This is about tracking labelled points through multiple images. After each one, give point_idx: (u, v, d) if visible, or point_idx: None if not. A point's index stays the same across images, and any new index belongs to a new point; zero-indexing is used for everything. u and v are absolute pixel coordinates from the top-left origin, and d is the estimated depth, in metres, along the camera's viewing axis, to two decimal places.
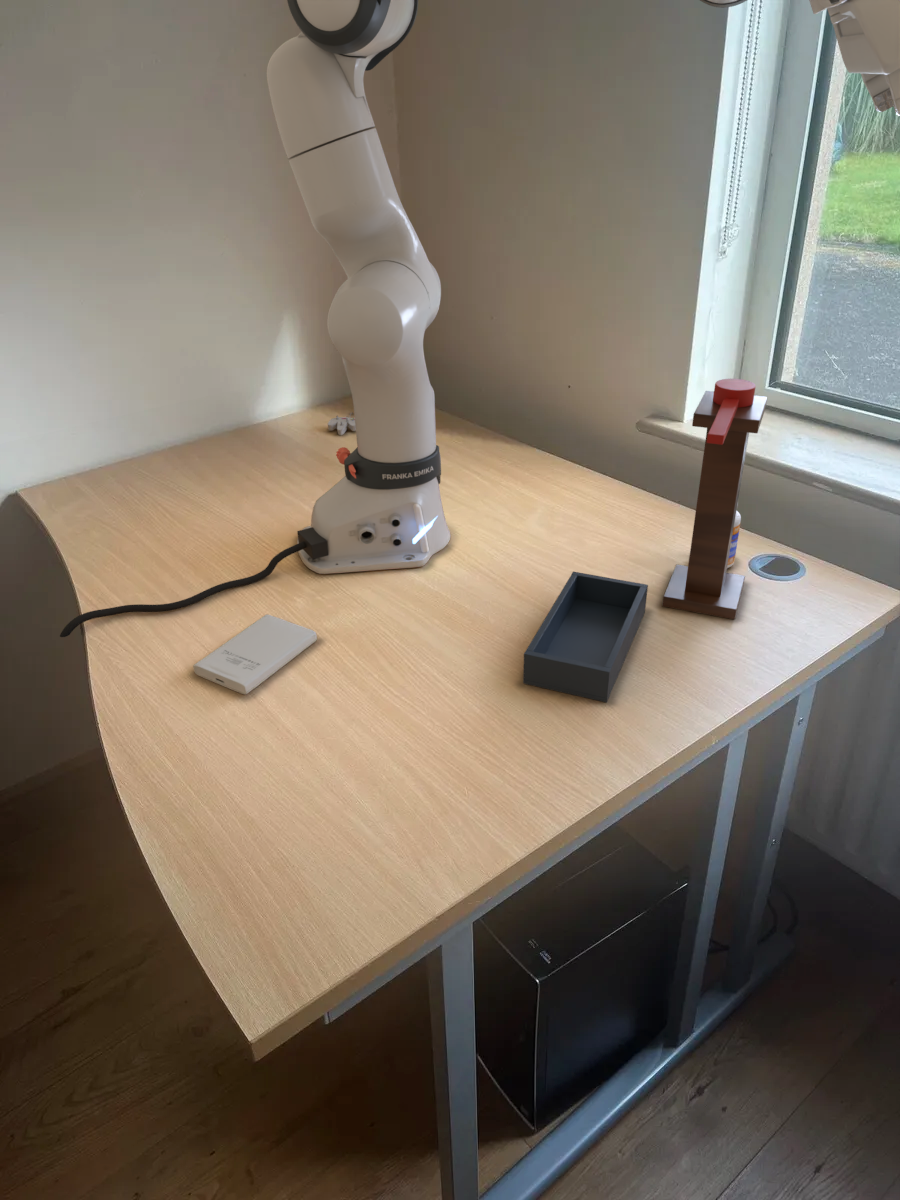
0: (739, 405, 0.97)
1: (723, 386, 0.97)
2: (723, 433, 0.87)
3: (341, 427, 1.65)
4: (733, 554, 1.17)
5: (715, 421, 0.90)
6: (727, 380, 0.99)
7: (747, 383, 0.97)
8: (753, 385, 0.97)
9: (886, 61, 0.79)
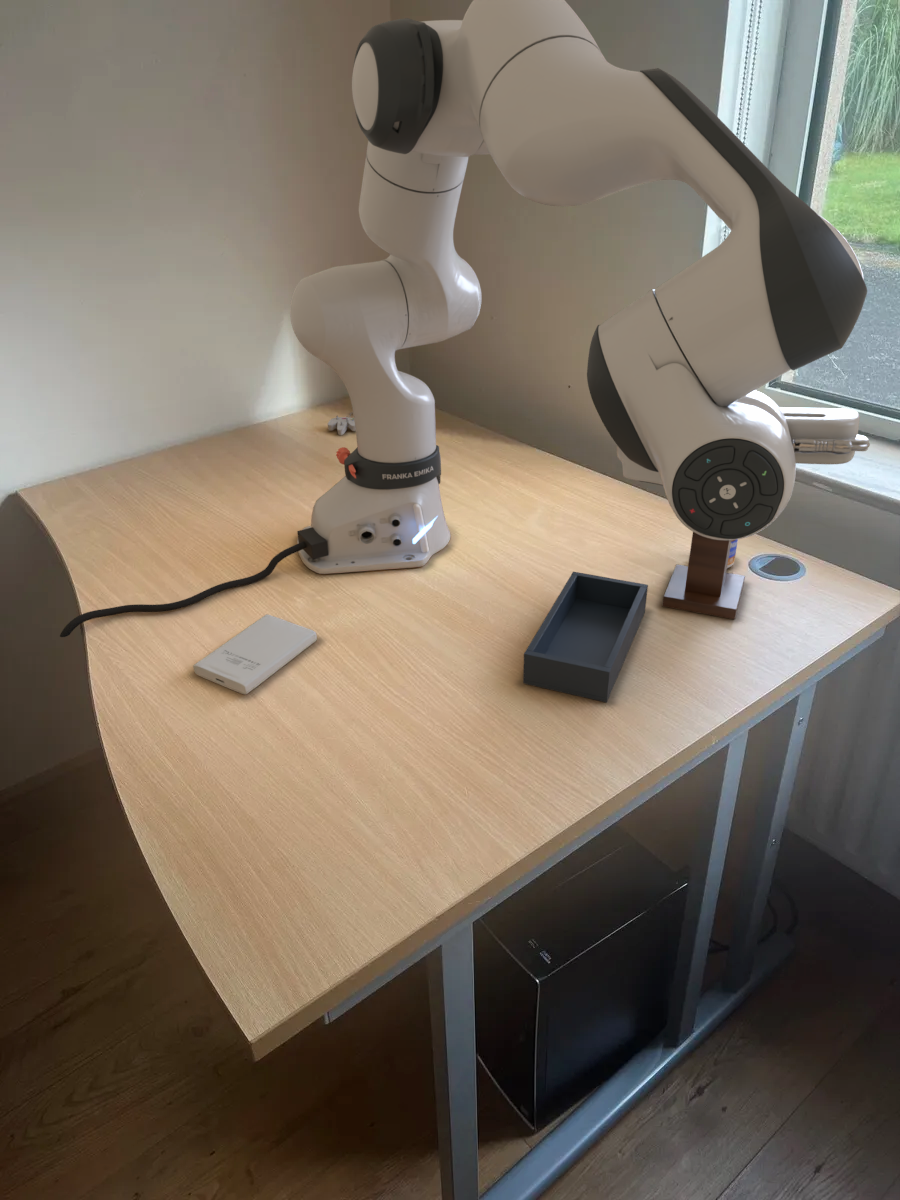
0: None
1: None
2: None
3: (341, 427, 1.65)
4: (733, 554, 1.17)
5: None
6: None
7: None
8: None
9: None
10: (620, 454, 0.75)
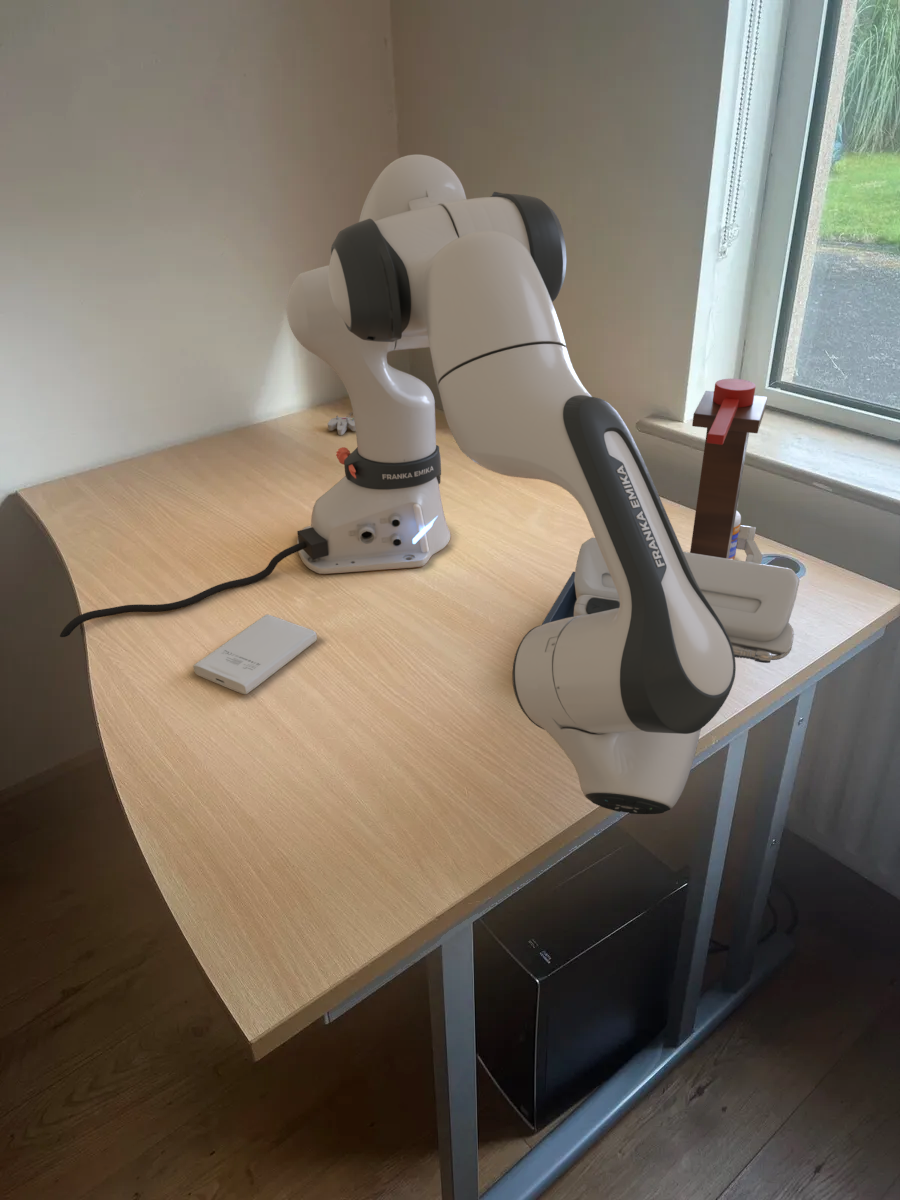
0: (739, 405, 0.97)
1: (723, 386, 0.97)
2: (723, 433, 0.87)
3: (341, 427, 1.65)
4: (733, 554, 1.17)
5: (715, 421, 0.90)
6: (727, 380, 0.99)
7: (747, 383, 0.97)
8: (753, 385, 0.97)
9: (581, 545, 0.84)
10: None
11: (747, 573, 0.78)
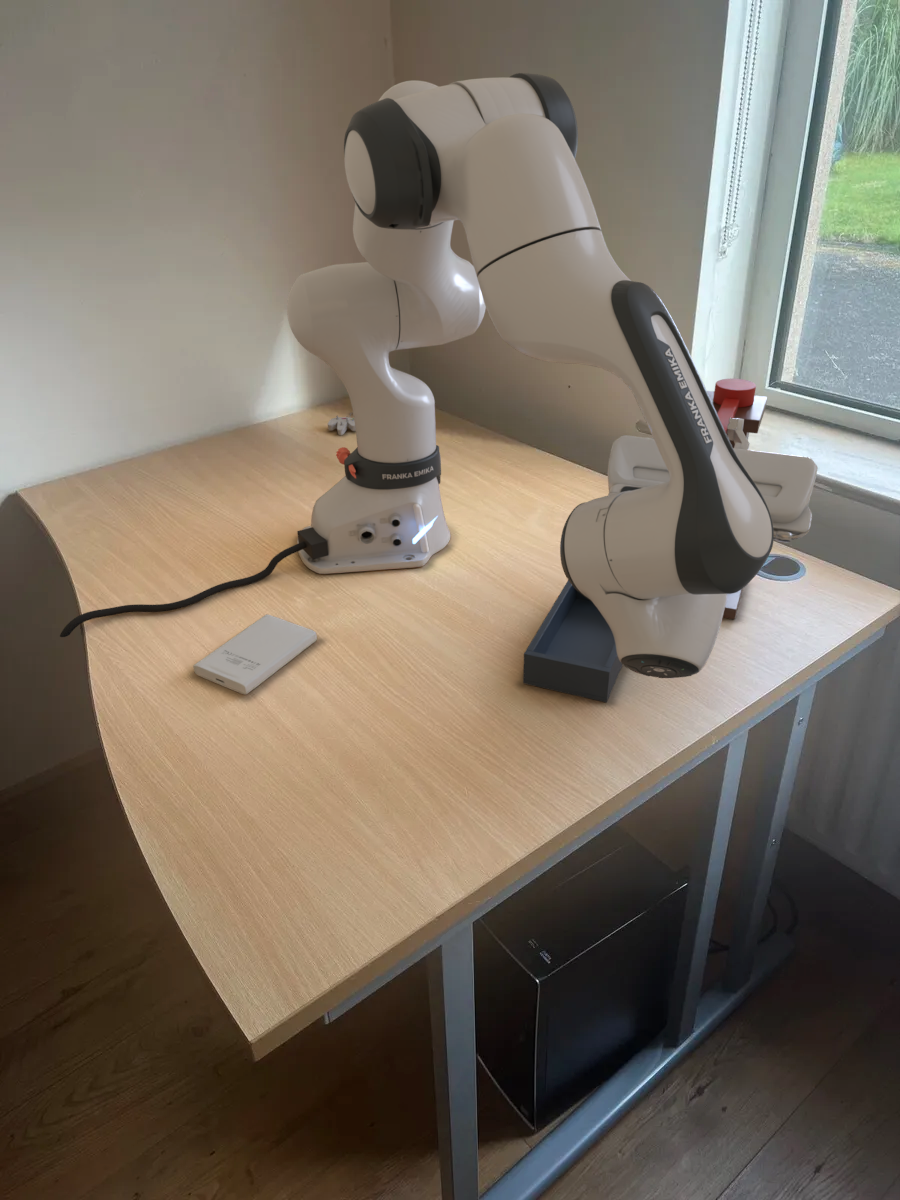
0: (739, 405, 0.97)
1: (724, 386, 0.97)
2: None
3: (341, 427, 1.65)
4: None
5: None
6: (727, 380, 0.99)
7: (747, 383, 0.97)
8: (753, 385, 0.97)
9: (613, 442, 0.90)
10: None
11: (769, 462, 0.84)
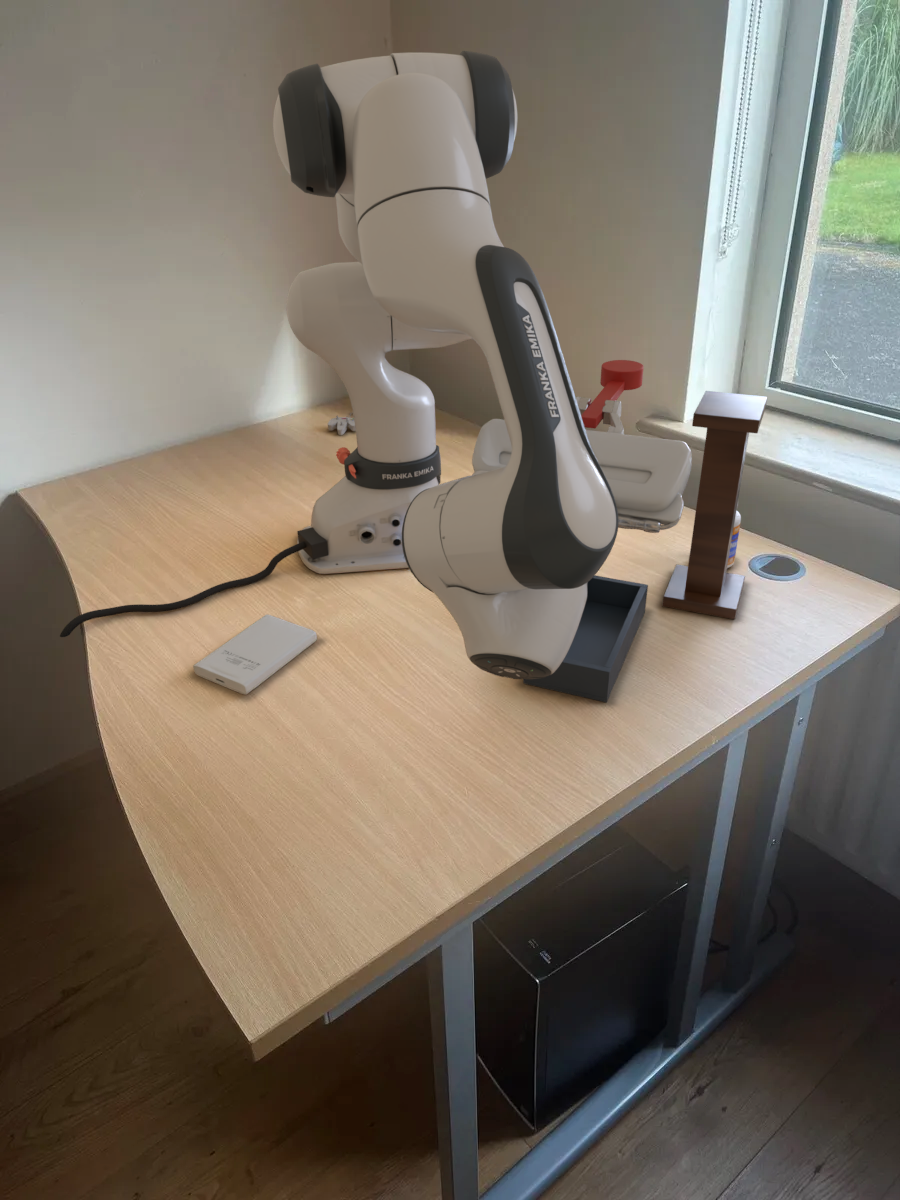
0: (625, 388, 0.90)
1: (609, 367, 0.91)
2: (596, 416, 0.81)
3: (341, 427, 1.65)
4: (733, 554, 1.17)
5: (592, 404, 0.84)
6: (615, 361, 0.93)
7: (635, 365, 0.91)
8: (641, 366, 0.91)
9: None
10: None
11: (640, 446, 0.78)
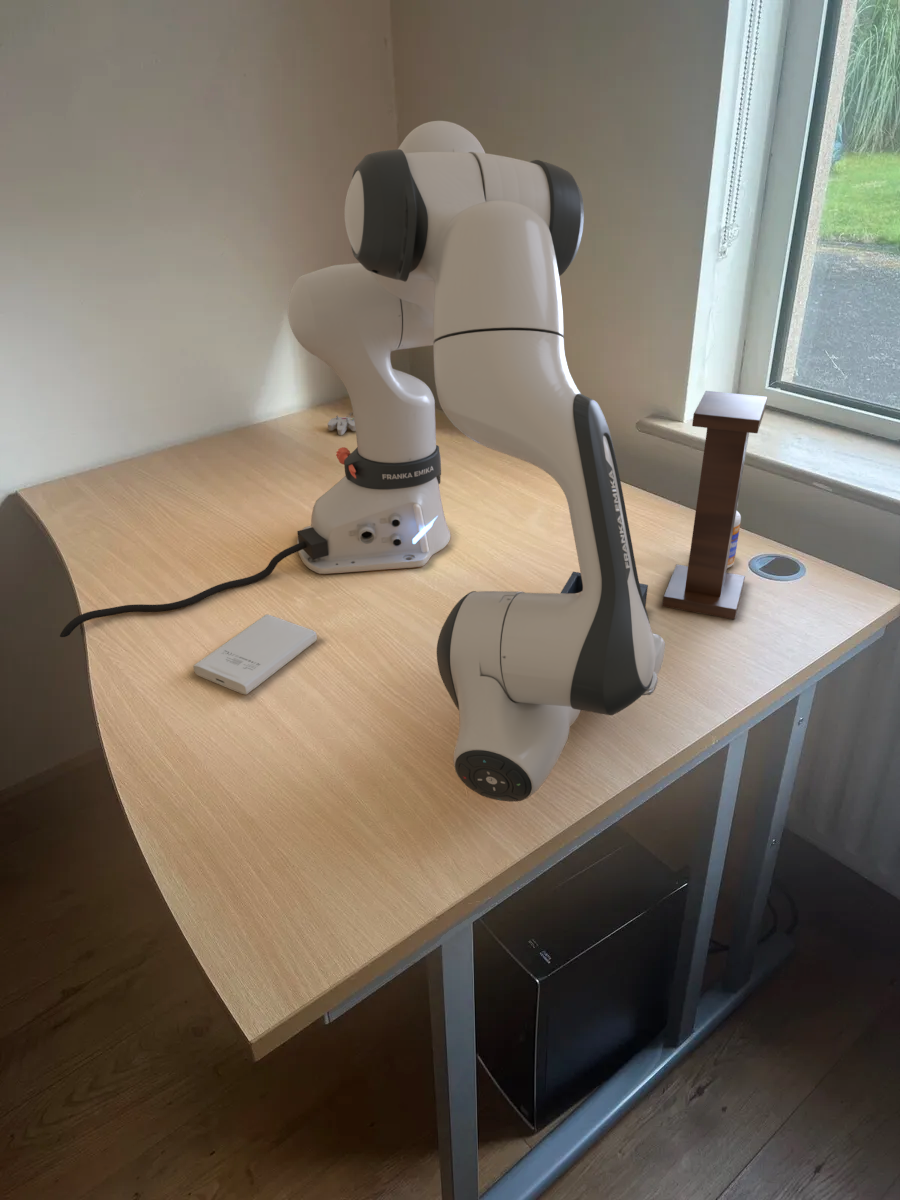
0: None
1: None
2: None
3: (341, 427, 1.65)
4: (733, 554, 1.17)
5: None
6: None
7: None
8: None
9: None
10: None
11: None
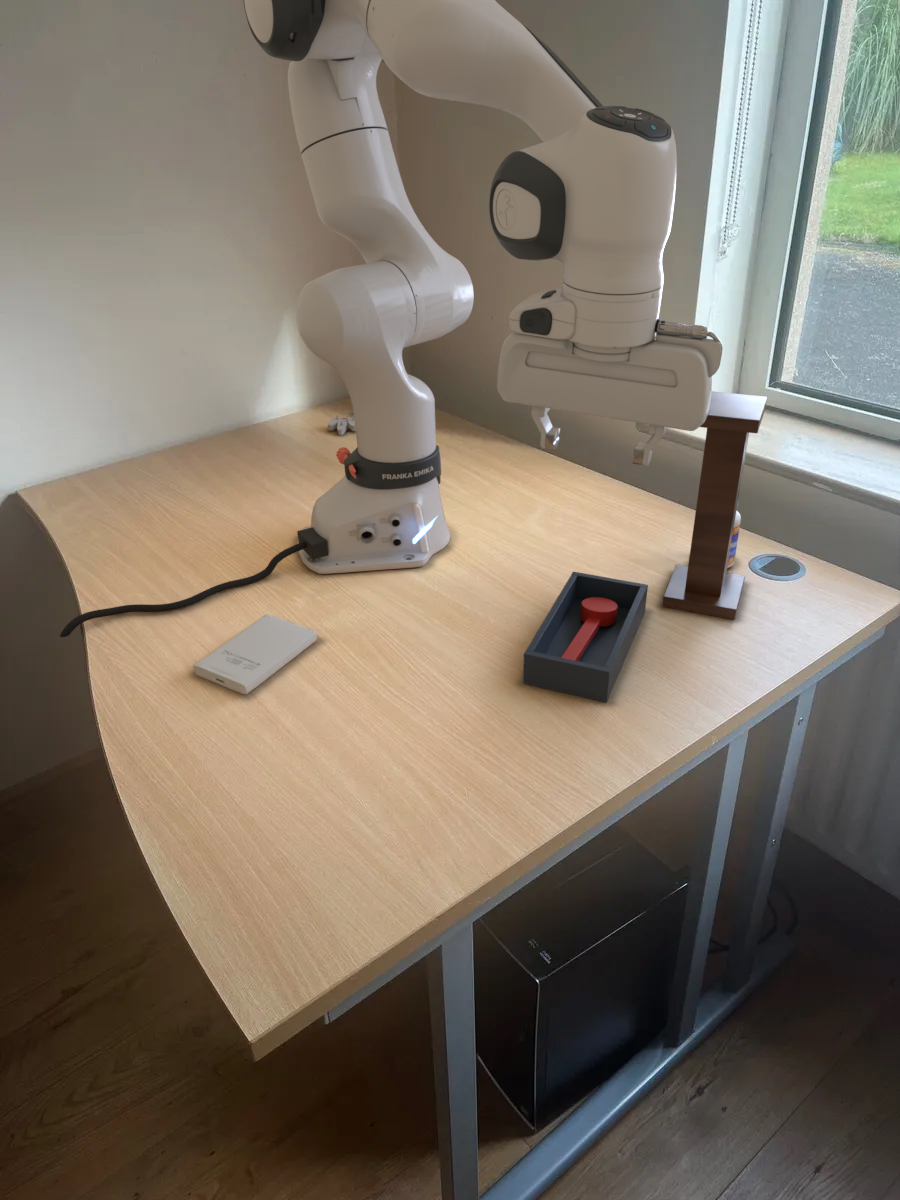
0: (601, 624, 1.04)
1: (588, 605, 1.05)
2: (573, 659, 0.95)
3: (341, 427, 1.65)
4: (733, 554, 1.17)
5: (571, 644, 0.98)
6: (593, 599, 1.07)
7: (610, 604, 1.06)
8: (615, 606, 1.05)
9: None
10: (506, 338, 0.81)
11: None
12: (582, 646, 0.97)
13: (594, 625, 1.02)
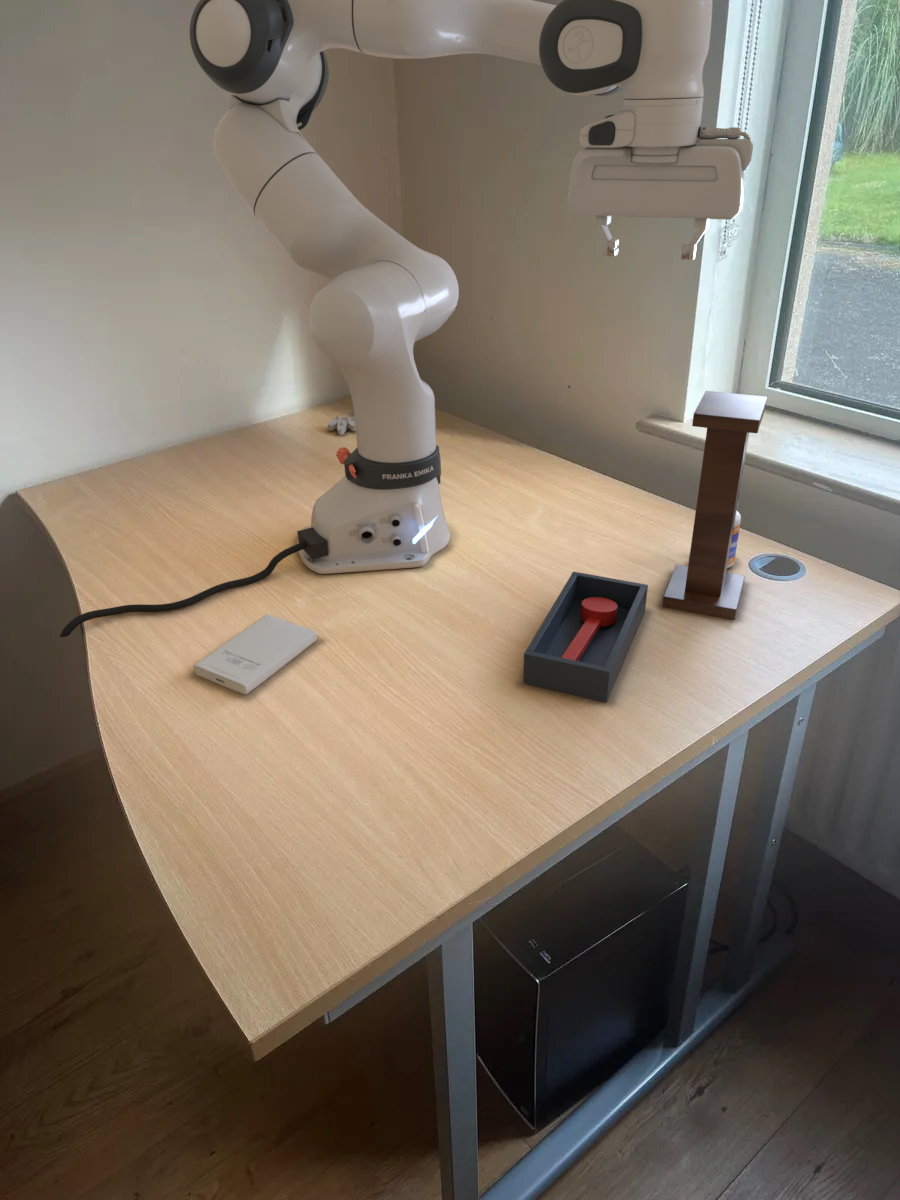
0: (601, 624, 1.04)
1: (588, 605, 1.05)
2: (573, 659, 0.95)
3: (341, 427, 1.65)
4: (733, 554, 1.17)
5: (571, 644, 0.98)
6: (593, 599, 1.07)
7: (610, 604, 1.06)
8: (615, 606, 1.05)
9: None
10: (576, 156, 1.01)
11: None
12: (582, 646, 0.97)
13: (594, 625, 1.02)
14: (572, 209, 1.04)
